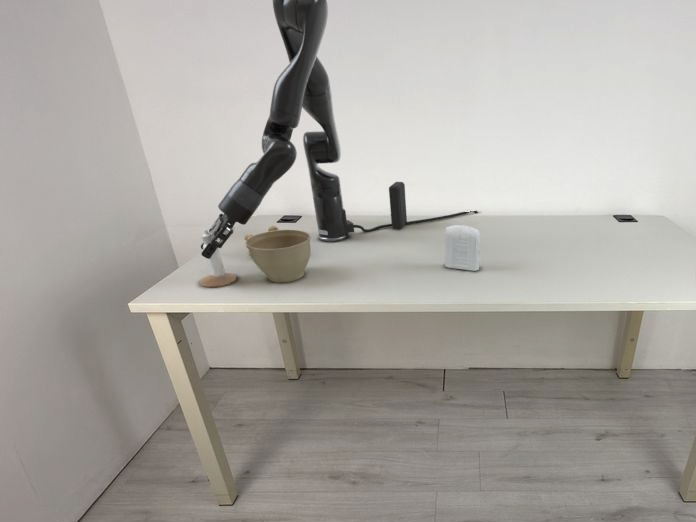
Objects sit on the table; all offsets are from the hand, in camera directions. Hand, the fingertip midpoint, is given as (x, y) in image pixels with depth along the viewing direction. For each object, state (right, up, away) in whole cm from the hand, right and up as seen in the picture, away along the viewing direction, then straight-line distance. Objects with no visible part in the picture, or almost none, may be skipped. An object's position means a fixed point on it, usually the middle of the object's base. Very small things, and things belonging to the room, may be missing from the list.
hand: (204, 253), depth 123 cm
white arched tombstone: (+68, -2, +14) cm, 69 cm away
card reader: (+44, +20, +50) cm, 70 cm away
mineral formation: (+9, +4, +23) cm, 25 cm away
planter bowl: (+18, -5, +8) cm, 21 cm away
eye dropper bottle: (+2, -5, +4) cm, 7 cm away
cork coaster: (+1, -7, +5) cm, 8 cm away
